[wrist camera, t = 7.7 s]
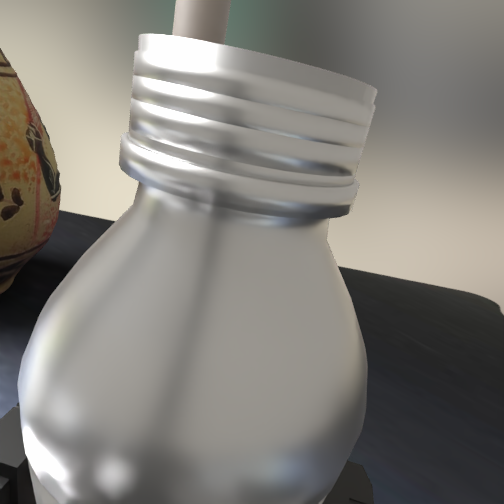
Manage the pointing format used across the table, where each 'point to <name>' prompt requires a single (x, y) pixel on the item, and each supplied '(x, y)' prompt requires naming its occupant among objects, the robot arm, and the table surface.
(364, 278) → the table surface
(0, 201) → the ceramic jug
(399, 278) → the table surface
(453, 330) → the table surface
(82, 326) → the plastic bottle
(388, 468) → the table surface
